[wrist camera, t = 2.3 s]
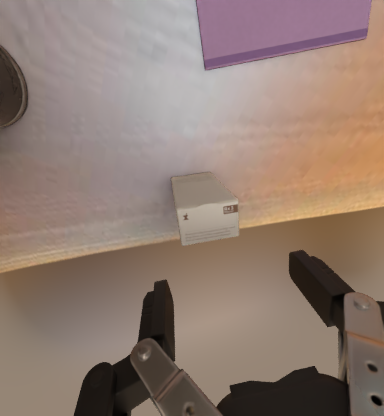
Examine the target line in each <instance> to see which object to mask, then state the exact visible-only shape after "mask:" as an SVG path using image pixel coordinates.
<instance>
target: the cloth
mask: <svg viewBox="0 0 384 416" xmlns="http://www.w3.org/2000/svg"><path fill="white" fill-rule="evenodd" d="M371 1H372V0H196V4H197V12H198V19H199V27H200V34H201V42H202V49H203V57H204V65H205V70H210V69H215V68H220V67H225V66H230V65H235V64H240V63H245V62H250V61H255V60H261V59H266V58H271V57H276V56H281V55H286V54H291V53H296V52H301V51H306V50H311V49H316V48H321V47H326V46H331V45H336V44H341V43H347V42H352V41H357V40H362V39H366V37H367V32H368V23H369V15H370V8H371Z"/></svg>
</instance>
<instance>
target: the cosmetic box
mask: <svg viewBox="0 0 384 416" xmlns="http://www.w3.org/2000/svg"><path fill="white" fill-rule="evenodd" d="M171 182H172V189H173V197H174V204H175V211H176V216H177V221H178V227H179V233H180V240H181V244H182V246H185V245H190V244H196V243H202V242H207V241H213V240H219V239H225V238H231V237H237V236H239V209H238V199H237V198H236V197H235V196H234V195H233V194H232V193H231V192H230V191H229V190H228V189H227V188H226V187H225V186H224V185H223V184H222V183H221V182H220V181H219V180H218V179H217V178H216V177H215V176H214V175H213V174H212V173H211V172H207V173H200V174H192V175H185V176H177V177H172V178H171Z"/></svg>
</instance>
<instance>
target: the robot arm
mask: <svg viewBox="0 0 384 416" xmlns="http://www.w3.org/2000/svg"><path fill="white" fill-rule="evenodd" d="M26 103H27V90H26V84H25V81H24V78H23V76H22V73H21V71H20V69H19V67H18V66H17V64H16V63H15V61H14V60H13V58H12V57H11V56H10V55H9V54H8V53H7V51H6V50H5V49H4V48H2V47H1V46H0V128H1V127H6V126H9V125H11V124H13V123H14V122H16V121H17V120H18V119H19V118H20V117H21V115H22V114H23V112H24V110H25V107H26ZM289 274H290V277H291V279H292V280H293V282H294V283H295V284H296V286H297V287H298V288H299V290H300V291H301V292H302V294H303V295H304V296H305V298H306V299H307V300H308V302H309V303H310V304H311V306H312V307H313V308H314V310H315V311H316V312H317V314H318V315H319V316H320V318H321V319H322V320H323V322H324V323H325V324H326V326H327V327H331V326H336V327H337V328H338V329H339V331H338V360H339V361H338V362H339V363H338V364H339V365H338V379H337V378H335V377H332V376H329V375H326V374H320V373H318V371H317V369H316V368H315V366H312V367H308V368H303V369H299V370H295V371H293V372H291V373H290V374H288V375H286V376H285V377H283V378H282V379H280V380H279V381H277V382H260V381H247V382H243V383H238V384H234V385H230V391H231V393H230V394H228V395H227V396H226V397H225V398H223V399H222V400H221V402H220V403H219V404H218V405H217V407H215V406H214V405H213V403H212V402H211V401H210V400H209V399H208V397H207V396H206V395H205V394H204V393H203V392H202V390H201V389H200V388H199V387H198V386H197V385H196V384H195V382H194V381H193V380H192V379H191V378H190V376H188V374H187V373H186V372H185V371H184V370H183V369H181V370H180V369H179V368H178V367H177V366H176V365H175V363H174V361H175V337H174V304H173V299H172V295H171V292H170V288H169V285H168V282H167V280H161V281H157V282H155V283H154V291H151V292H148V293H147V295H146V296H145V298H144V300H143V309H142V316H141V322H140V330H139V337H138V342H137V344H136V346H135V347H134V348H133V350H132V352H131V354H130V355H128V356H127V357H126V358H124V359H123V360H121V361H119V362H117V363H116V364H114V365H111V364H110V363H107V362H102V363H99V364H97V365H96V366H94V367H93V368H92V369H91V370H90V371H89V372H88V373H87V375H86V377H85V378H84V380H83V383H82V387H81V390H80V394H79V398H78V401H77V405H76V409H75V413H74V416H131V410H132V409H133V408H135V407H136V406H138V405H139V404H141V403H142V402H144V401H145V400H147V399H148V398H150V399H151V401H152V402H153V404H154V405H155V407H156V409H157V410H158V412H159V413H160V415H161V416H384V302H380V301H375V300H374V299H373V298H371V297H369V296H368V295H365V294H363V293H359V292H355V291H354V290H353V289H352V288H351V287H350V286H349V285H347V283H345V282H344V281H343V280H342V279H341V278H340V277H339V276H338V275H337V274H336V273H334V271H333V270H332V269H331V268H329V267H328V266H327V265H326V264H325V263H324V262H323V261H322V260H320V259H318V258H316V257H314V256H311V257H310V256H309V255H308V254H307V253H306V252H305V251H303V250H299V251H295V252H291V253H290V254H289Z"/></svg>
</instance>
